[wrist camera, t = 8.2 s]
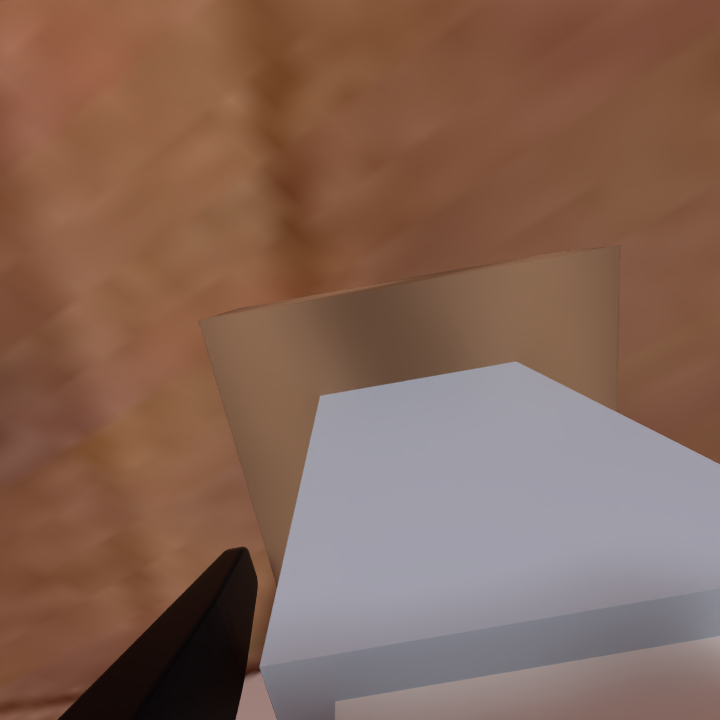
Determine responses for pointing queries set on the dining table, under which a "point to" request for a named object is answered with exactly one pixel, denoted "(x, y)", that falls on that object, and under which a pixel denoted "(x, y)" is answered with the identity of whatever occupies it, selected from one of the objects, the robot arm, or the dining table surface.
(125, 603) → the dining table surface
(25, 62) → the dining table surface
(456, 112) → the dining table surface
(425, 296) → the wooden block
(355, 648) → the white cube
